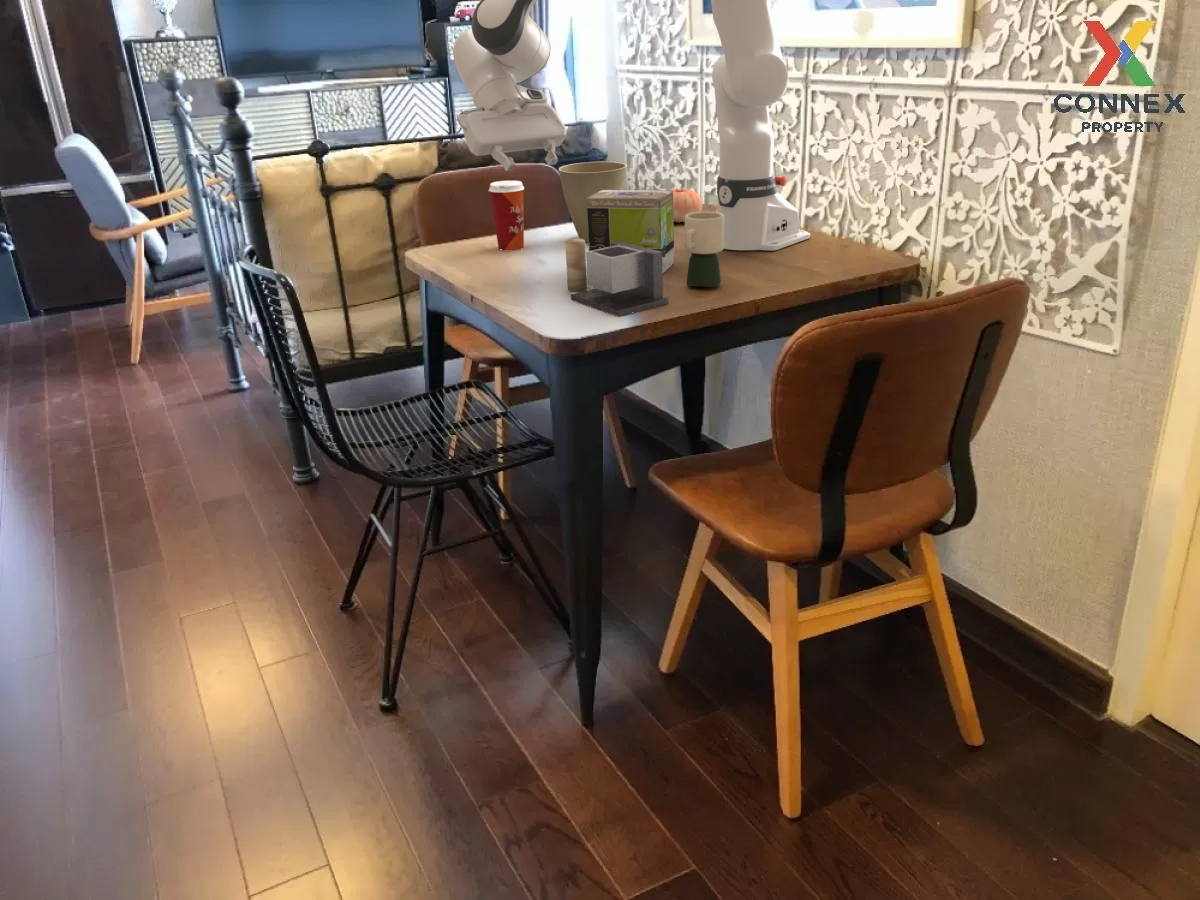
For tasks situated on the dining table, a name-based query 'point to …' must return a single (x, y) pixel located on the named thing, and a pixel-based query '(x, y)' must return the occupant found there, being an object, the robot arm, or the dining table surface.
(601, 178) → the plant pot
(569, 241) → the tan wooden cylinder
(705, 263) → the character mug
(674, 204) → the orange pumpkin
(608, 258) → the grey box holder
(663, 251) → the tea box
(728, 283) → the dining table surface
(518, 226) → the paper cup
